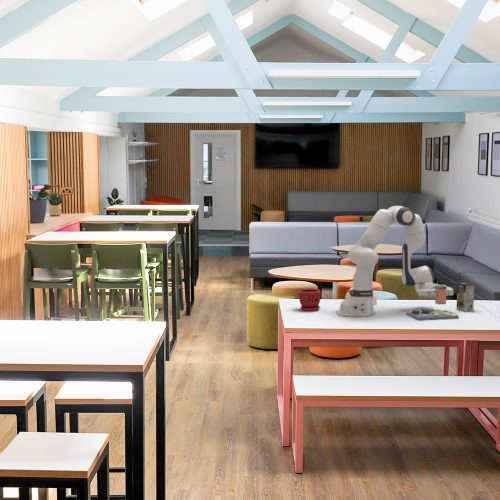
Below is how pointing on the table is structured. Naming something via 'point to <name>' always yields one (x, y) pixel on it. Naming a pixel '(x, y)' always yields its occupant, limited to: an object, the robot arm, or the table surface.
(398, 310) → the table surface
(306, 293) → the plant pot
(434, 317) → the switch board
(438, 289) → the block
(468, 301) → the coffee box
